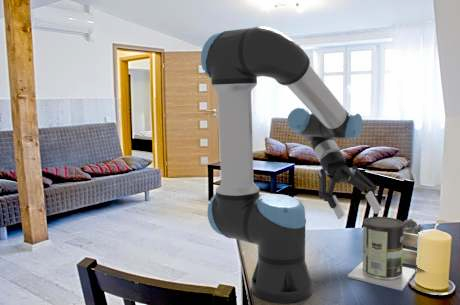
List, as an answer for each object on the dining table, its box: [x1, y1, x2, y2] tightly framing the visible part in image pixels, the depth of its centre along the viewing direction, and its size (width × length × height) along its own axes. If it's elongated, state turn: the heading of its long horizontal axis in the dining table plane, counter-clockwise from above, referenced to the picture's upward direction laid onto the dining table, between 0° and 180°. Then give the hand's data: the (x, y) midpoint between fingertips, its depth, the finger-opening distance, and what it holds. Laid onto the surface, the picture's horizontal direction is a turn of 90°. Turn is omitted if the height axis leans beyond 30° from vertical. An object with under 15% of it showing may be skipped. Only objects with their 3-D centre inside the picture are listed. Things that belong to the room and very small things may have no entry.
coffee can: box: [362, 216, 404, 280], centre depth 114 cm, size 10×10×14 cm
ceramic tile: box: [347, 261, 416, 292], centre depth 115 cm, size 14×14×1 cm
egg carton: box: [403, 218, 426, 235], centre depth 149 cm, size 11×8×4 cm
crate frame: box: [402, 232, 419, 267], centre depth 131 cm, size 16×16×4 cm
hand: (360, 214), depth 126 cm, fingers open, 13 cm apart
